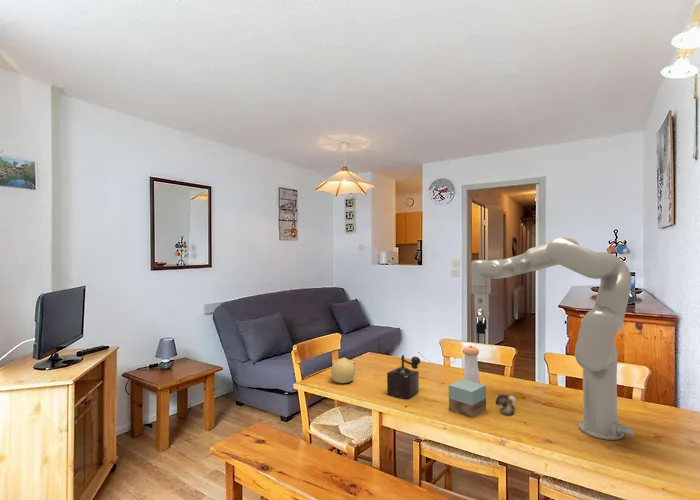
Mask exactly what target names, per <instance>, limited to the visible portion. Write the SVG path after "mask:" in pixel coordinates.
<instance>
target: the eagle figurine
mask: <svg viewBox="0 0 700 500" xmlns="http://www.w3.org/2000/svg"><path fill="white" fill-rule="evenodd" d="M497 395H498V396H497V397H496V399H495V405H497V406H499V405H500V407H499V409H498V410H502V411H501V415H502V416H504V417H508V416H509V417H510V416H513V415H514V413H515V406H514V404H516V403H517V402H516V400H517V399H516V397H515V396H514V395H511V394H509V396H507V394H506V395H505V394H499V393H497Z"/></svg>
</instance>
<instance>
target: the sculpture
mask: <svg viewBox="0 0 700 500" xmlns="http://www.w3.org/2000/svg"><path fill="white" fill-rule="evenodd" d="M331 363H332V366H331V369H330V376H331V378H332V380H333V382H335V383H338V384H339V383H340V384H345V383H346V384H347V383H350V382H351V381H353V380H354V378H355V375H356V366H355V363H356V361H355V360H351V359H348V358H346V357H341V358H339V359H334V360H332V361H331Z"/></svg>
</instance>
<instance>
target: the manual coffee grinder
mask: <svg viewBox="0 0 700 500" xmlns="http://www.w3.org/2000/svg"><path fill="white" fill-rule="evenodd" d="M400 357H401V358H400V361H401V366H400V367H396V368H394V369H393V370H390V371H388V372H387V373H386V375H387V376H386V381H387V382H386V384H387V386H386V387H387V389H386V390H387V392H386V393H387V396H391V397H395V398H398V399H399V398H400V399H404V400H409V399H411V398H414V397H415V396H417V395H418V394H419V392H420V389H419V385H420V384H419V374H420V373H419V370H417V369H418V368H419V367H418V366H419V365H420V364H421V359H420V357H418V356H412V357H411V359H410V360H411V361H408V360H407V359H405V355H404V354H402V355H401V356H400ZM405 363H406V364H409V365H410V366H411V368H412V369H410V368H408V367H406V366H405Z"/></svg>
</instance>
